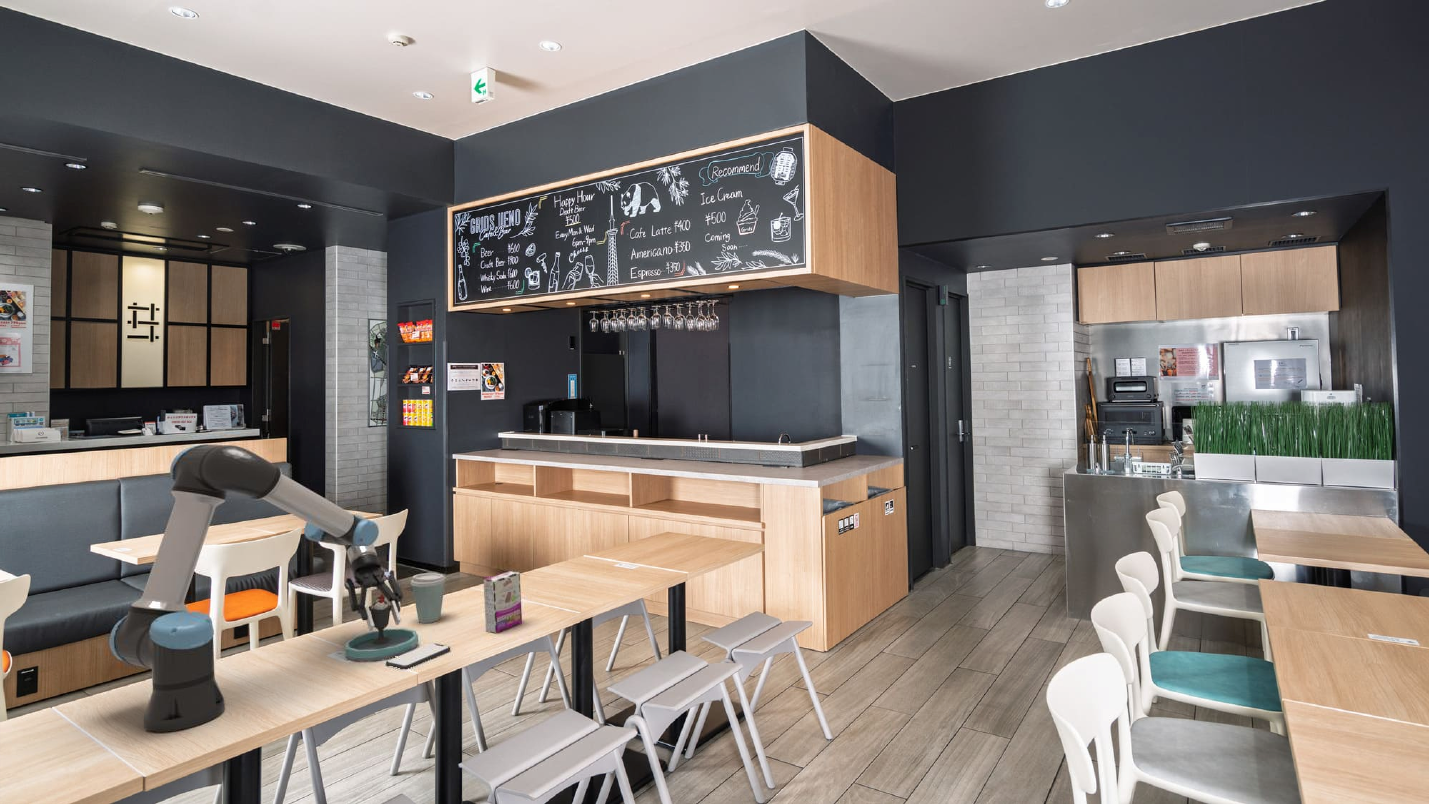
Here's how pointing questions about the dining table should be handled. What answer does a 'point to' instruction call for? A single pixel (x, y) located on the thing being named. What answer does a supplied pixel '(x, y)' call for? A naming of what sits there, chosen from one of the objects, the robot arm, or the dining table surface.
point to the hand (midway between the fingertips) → (385, 625)
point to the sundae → (380, 617)
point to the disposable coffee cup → (428, 596)
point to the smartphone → (418, 656)
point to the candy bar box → (502, 601)
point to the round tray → (381, 645)
